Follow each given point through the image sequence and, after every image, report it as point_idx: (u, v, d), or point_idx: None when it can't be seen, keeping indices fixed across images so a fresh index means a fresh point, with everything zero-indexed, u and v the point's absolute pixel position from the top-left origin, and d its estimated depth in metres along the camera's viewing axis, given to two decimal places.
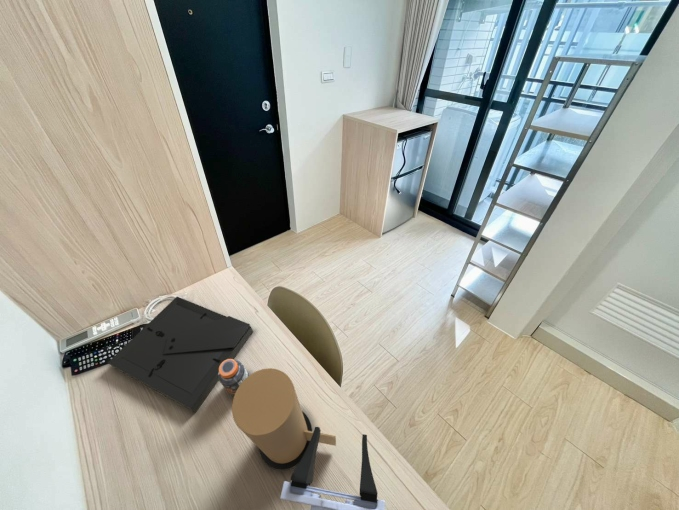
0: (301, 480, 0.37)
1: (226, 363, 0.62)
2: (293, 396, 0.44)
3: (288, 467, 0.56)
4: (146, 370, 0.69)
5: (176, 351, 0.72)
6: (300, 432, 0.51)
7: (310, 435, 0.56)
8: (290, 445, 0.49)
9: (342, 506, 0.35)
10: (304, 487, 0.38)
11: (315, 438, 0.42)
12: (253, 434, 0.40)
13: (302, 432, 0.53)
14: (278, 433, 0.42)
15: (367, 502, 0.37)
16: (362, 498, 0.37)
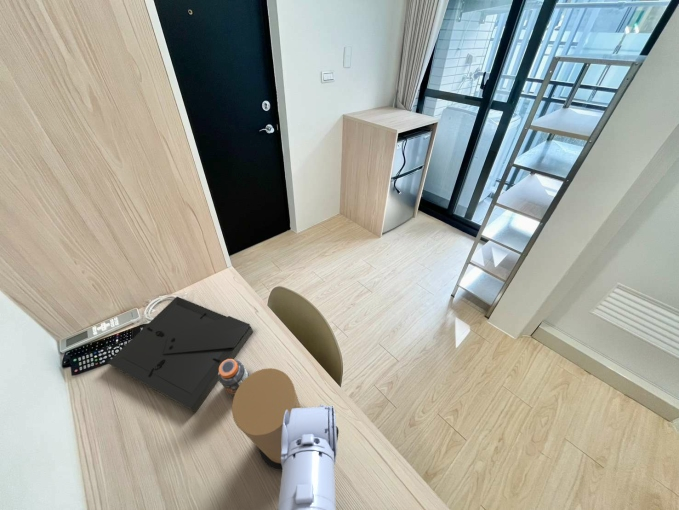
0: None
1: (226, 363, 0.62)
2: (293, 396, 0.44)
3: None
4: (146, 370, 0.69)
5: (176, 351, 0.72)
6: None
7: None
8: None
9: None
10: None
11: None
12: (253, 434, 0.40)
13: None
14: (278, 433, 0.42)
15: None
16: None
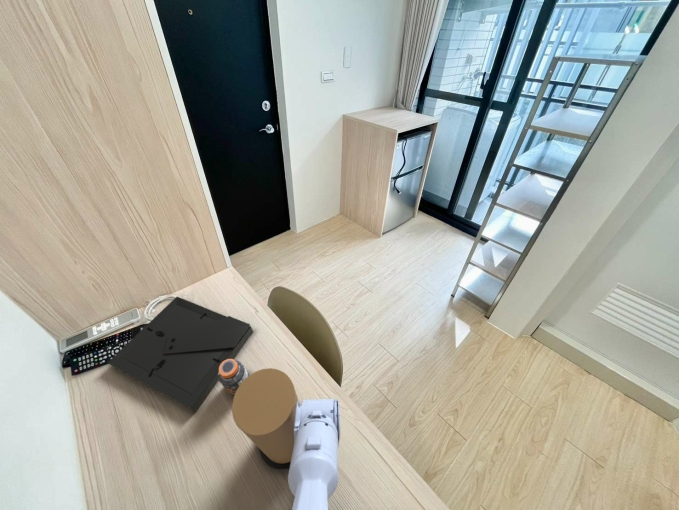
0: None
1: (226, 363, 0.62)
2: (293, 396, 0.44)
3: (288, 467, 0.56)
4: (146, 370, 0.69)
5: (176, 351, 0.72)
6: None
7: None
8: (290, 445, 0.49)
9: None
10: None
11: None
12: (253, 434, 0.40)
13: None
14: (278, 433, 0.42)
15: None
16: None
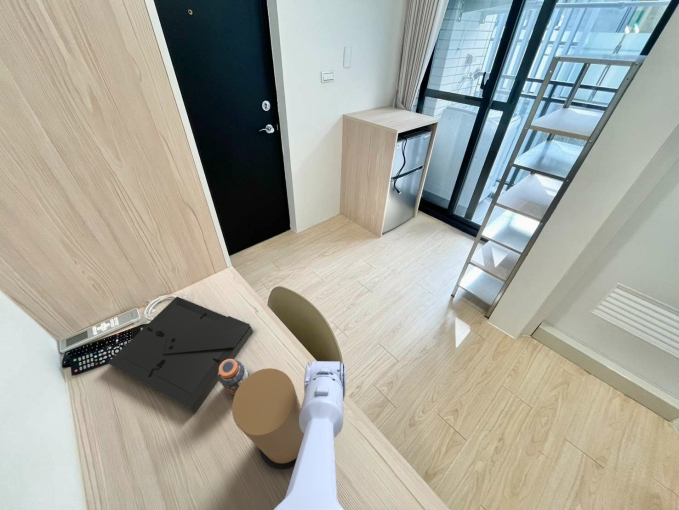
0: None
1: (226, 363, 0.62)
2: (289, 379, 0.45)
3: (288, 467, 0.56)
4: (146, 370, 0.69)
5: (176, 351, 0.72)
6: None
7: None
8: (300, 429, 0.51)
9: None
10: None
11: None
12: (273, 430, 0.40)
13: None
14: (292, 416, 0.44)
15: None
16: None
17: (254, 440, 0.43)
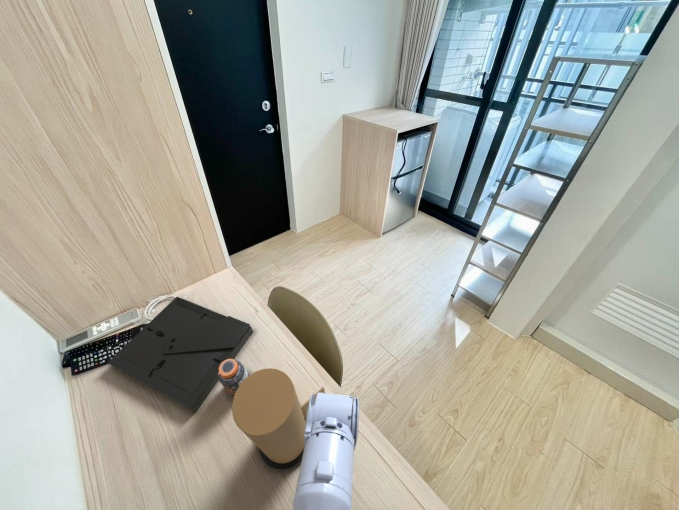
0: None
1: (226, 363, 0.62)
2: (284, 374, 0.46)
3: (288, 467, 0.56)
4: (146, 370, 0.69)
5: (176, 351, 0.72)
6: None
7: (306, 408, 0.59)
8: (302, 421, 0.52)
9: None
10: None
11: None
12: (281, 424, 0.41)
13: None
14: (295, 407, 0.44)
15: None
16: None
17: (262, 441, 0.43)
